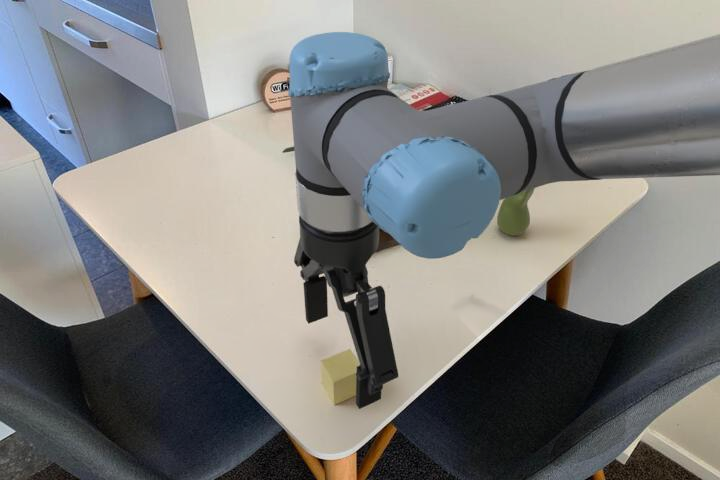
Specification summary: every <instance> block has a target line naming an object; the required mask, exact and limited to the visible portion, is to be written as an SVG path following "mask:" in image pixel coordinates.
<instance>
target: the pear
mask: <svg viewBox="0 0 720 480" xmlns="http://www.w3.org/2000/svg"><path fill="white" fill-rule="evenodd" d="M534 193H535V188H533V189H530V190H527V191H524V192H520V193H518V194H516V195H512V196H510V197H508V198H505V199H502V202H501V204H500V206H499V209H498V212H497V216H496V223H497V226H498V228H499V230H500V231H501V232H503V233H504V234H505V235H508V236H520V235H522V234H523V233H525V232H526V231H527V230H528V228H529V226H530V223H531V215H530V211H529V206H528V202H529V200H530V199H531V197H532V196H533V194H534Z"/></svg>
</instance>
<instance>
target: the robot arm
mask: <svg viewBox="0 0 720 480" xmlns="http://www.w3.org/2000/svg"><path fill="white" fill-rule="evenodd" d="M388 56H389V54H388V52H387V50H386V47H385V46H384V44H383V43H381V41H380V40H378V39H376V38H374V37H371V36H369V35H366V34H362V33H358V32H350V31H349V32H348V31H332V32H331V31H329V32H324V33H317V34H313V35H309V36H307V37H304V38H303V39H301V40H299V41H298V42H297V43H296V44H295V45H293V47H292V49H291V52H290V54H289V88H288V90H287V95H288V97H289V100H290V111H291V125H292V137H293V146H294V151H293V152H294V161H295V163H294V164H295V172H294V173H295V174H294V175H295V177H294V178H295V191H296V203H297V204H296V205H297V211H298V213H299V214H298V215H299V216H298V223H299V225H298V226H299V240H298V243H297V247H296V250H295V254H294V256H293V261H294V265H295V266H296V267H297V268H299V267H301V270H300V275H299V276H300V277H301V279H302V280H303V281H304V282H303V296H304V311H305V321H306V322H307V324H309V325H310V324H313V323H315V322H316V321H319V320H322V319H325V318H328V317H329V308H328V304H329V303H328V286H329V288H331V290H332V294H333V297H334V300H335V303H336V307H337V309H338V311H340V312H342V313H344V316H345V319H346V323H347V326H348V330H349V333H350V336H351V340H352V342H353V346H354V349H355V352H356V355H357V360H358V362H359V364H360V366H357V373H356V396H355V405H356V407H357V408H358V409H359V410H361V409H363V408H365V407H367V406H369V405H371V404H374V403H376V402H378V401H380V400H382V390H383V388H384V384H387V383H389V382H391V381H393V380H396V379H398V378H399V372H398V366H397V361H396V355H395V352H394V345H393V341H392V335H391V330H390V325H389V321H388V315H387V311H386V292H385V288H384V287H383V286H382V285H377V286H374V287H372V286H371V284H369V276H368V275H369V272H368V269H367V264H368V262H369V260H370V259H371V258H372V257H373V256H374V254H375V253H376V252H375V251H376V249H377V247H378V243H379V227H380V228H381V229H382V230H383V231H384V232H387V233H388V234H390V235H391V236H392V237H393V238H394V239H395V240H396V241H397V242H398V243H400V244H399V245H400V246H401V247H403V248H404V250H406V251H407V252H409V253H410V254H412V255H413V256H416V257H419V258H423V259H430V260H432V259H434V260H435V259H442V258H443V259H444V258H446V257H450V256H452V255H455V254H457V253H459V252H461V251H463V249H464V248H465V246H466V245H467V243H468V242H469V241H470V240H471V239H479V237H480V236H481V235H482V234H483V233H484V232H485V231H486V229H487V228H488V227H489V225H490V223H491V222H492V221H493V219H494V217H495V215H496V213H497V211H498V208H499V205H500V202H501V201H503V200H504V199H505V198H508V197H510V196H512V195H516V194H518V193H520V192H524V191H527V190H530V189H533V188H534V189H536V188H539V187H542V186H546V185H548V184H553V183H560V182H583V181H585V182H586V181H599V180H614V179H615V180H617V179H620V180H621V179H644V178H645V179H646V178H648V179H649V178H673V177H676V178H677V177H678V178H679V177H702V176H705V177H706V176H707V177H708V176H720V33H717V34H715V35H712V36H708V37H704V38H701V39H696V40H693V41H689V42H685V43H682V44H678V45H673V46H672V47H667V48H664V49H660V50H656V51H652V52H649V53H645V54H641V55H637V56H634V57H630V58H628V59H623V60H619V61H615V62H612V63H608V64H605V65H600V66H597V67H595V68H592V69H589V70H588V69H587V70H584V71H579V72H575V73H568V74H565V75H561V76H559V77H554V78H550V79H548V80H545V81H542V82H538V83H533V84H529V85H526V86H522V87H518V88H515V89H510V90H507V91H503V92H499V93H495V94H489V95H485V96H481V97H478V98H474V99H473V98H472V99H470V100H464V101H461V102H456V103H453V104H449V105H444V106H440V107H436V108H432V109H428V110H419V109H417V108H415V107H414V106H413V105H411V104H410V103H408V102H406V101H405V100H404V99H402V98H400V97H399V96H398V95H396V94H395V93H394V92H393V91H391V90H390V89H389V88H388V85H389V79H390V77H391V72H390V71H389V57H388ZM354 294H355V298H353V299H350V300H348V301H346V300H345V297H349V296H352V295H354Z"/></svg>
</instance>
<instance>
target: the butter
mask: <svg viewBox="0 0 720 480" xmlns="http://www.w3.org/2000/svg"><path fill="white" fill-rule="evenodd" d="M357 366H360V362H359V359H358V358H357V357H356V355H355V354H354V353H353V351H352V350H351V349H350V348H348V349H346V350H344V351H341V352H338V353H336V354H334V355H331V356H328V357H326V358H324V359H321V360H320V375H321V385H322V386H323V388H324V390H325V392H326V393H327V395H328V397H329V399H330V400H331V402H332V404H333V405H334V406H336V405H337V404H340V403H342V402H344V401H347V400H349V399H351V398H354V397H356V373H357Z"/></svg>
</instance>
